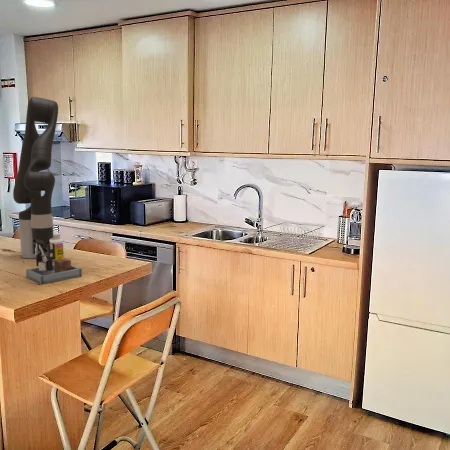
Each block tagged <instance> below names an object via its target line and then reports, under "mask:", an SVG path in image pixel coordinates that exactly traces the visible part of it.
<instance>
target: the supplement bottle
mask: <svg viewBox="0 0 450 450" xmlns="http://www.w3.org/2000/svg"><path fill="white" fill-rule="evenodd" d="M51 243H54V246H55V259H54V260H57V259H63V258H65V256H64V255H65V253H64V240H63V239H62V238H61V232H53V238H51V239H50V244H51ZM52 256H53V254H52ZM54 260H52V263H53V265H55V264H54Z"/></svg>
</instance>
